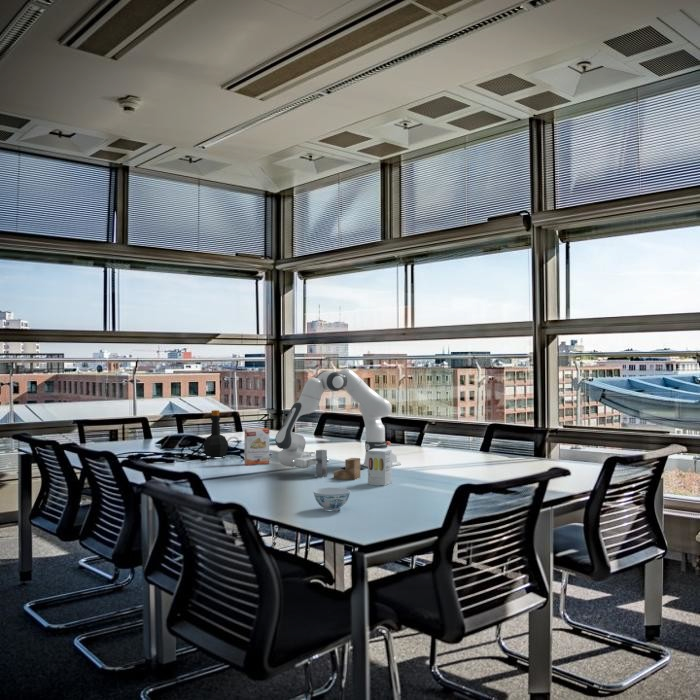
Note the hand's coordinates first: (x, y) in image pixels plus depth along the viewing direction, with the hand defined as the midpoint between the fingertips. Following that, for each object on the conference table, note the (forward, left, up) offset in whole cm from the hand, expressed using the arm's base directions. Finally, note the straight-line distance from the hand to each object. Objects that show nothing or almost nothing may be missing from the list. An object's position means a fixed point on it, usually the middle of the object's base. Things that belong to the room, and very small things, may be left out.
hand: (322, 461), depth 373 cm
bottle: (+9, -107, -8) cm, 108 cm away
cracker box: (+3, -64, -8) cm, 64 cm away
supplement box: (-10, +35, -8) cm, 38 cm away
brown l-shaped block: (-8, +11, -8) cm, 16 cm away
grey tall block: (0, -1, -8) cm, 8 cm away
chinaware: (+43, +69, -8) cm, 82 cm away
